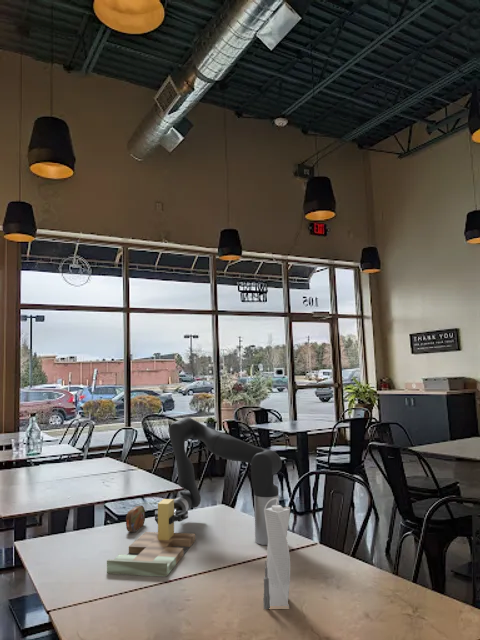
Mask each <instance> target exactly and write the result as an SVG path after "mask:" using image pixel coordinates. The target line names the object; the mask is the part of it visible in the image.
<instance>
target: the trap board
mask: <svg viewBox="0 0 480 640" xmlns="http://www.w3.org/2000/svg"><path fill="white" fill-rule="evenodd" d="M195 541H196V533H188V532H187V533H186V532H185V533H184V532H174V535H173V536H172V537H171V538H170V539H169V540H158V531H157V532H156V531H145V532H144V533H142V534H141V535H140V536H139V537H138V538H136V539H135V540H134V541H133V542H132V543H131V544H130V545H129V546H128V553H127V554H118V555H117V556H116V557H115V558H113V559H110V558H109V559H107V560H106V574H107V575H108V574H110V575H127V576H129V575H130V576H148V577H165V578H167V577H168V575H169V574H170V572H172V570H173V569H174V567H176V565H177V564H178V563H179V561H180V560H182V558H183V556H184V555H185V554H186V553H187V552H188V550H189V549H190V548H191V547H192V546H193V544H194V543H195Z"/></svg>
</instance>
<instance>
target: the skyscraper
mask: <svg viewBox="0 0 480 640" xmlns="http://www.w3.org/2000/svg"><path fill="white" fill-rule="evenodd" d="M274 499H277V501H276V505H272V507H271V508H268V509H266V506H267V504H268V503H269V502H270V501H272V500H274ZM277 503H278V498H277V497H276V498H272V499H270V500H269V501H268V502H267V504H266V505H265V508H264V513H265V521H266V529H267V536H268V545H266V547H267V548H266V560H265V561H264V564H265V565H264V576H263V601H262V602H263V610H264V609H269V608H270V606H289V607H290V603H289V604H288V601H289V595H290V583H291V557H290V549H289V544H288V539H287V537H288V529H289V523H290V515H291V507H290V506H285V507H283V506H282V505H280V504H279V505H277Z"/></svg>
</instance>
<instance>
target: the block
mask: <svg viewBox="0 0 480 640" xmlns="http://www.w3.org/2000/svg"><path fill="white" fill-rule="evenodd" d="M174 499H175V498H172V499H171V498H162V500H160V501H159V502H157V510H158V524H157V532H158V540H169V539H170V538H171V537H172V536H173V535H174V533H175V522H173V523H172V524H169V518H170V517H171V516H173V514H174Z"/></svg>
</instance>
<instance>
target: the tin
mask: <svg viewBox="0 0 480 640" xmlns="http://www.w3.org/2000/svg"><path fill="white" fill-rule="evenodd" d="M145 521H146V510H145V507H144V506H143V505H136V506H134V507H133V508H132V509H131V510H129V511H128V512H127V513H126V516H125V524H126V525H125V526H126V531H127V532H129V533H136V532H137V531H138V530H139V529H141V528H142V527H143V526H144V525H145V523H146V522H145Z"/></svg>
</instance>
